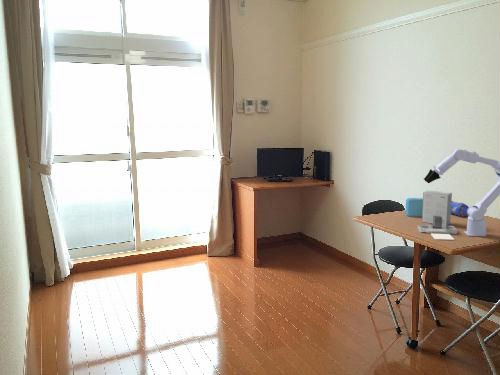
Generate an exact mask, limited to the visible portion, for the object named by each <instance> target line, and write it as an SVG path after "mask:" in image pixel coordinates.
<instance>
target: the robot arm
mask: <svg viewBox="0 0 500 375" xmlns="http://www.w3.org/2000/svg"><path fill="white" fill-rule="evenodd" d="M459 161H463V162H467V163H471V164H476V163H481V164H484V165H489V166H491V168H493V169H494V172H495V174H496V175H497V178H498V179H497V180H498V181H497V182H496V183H494V185H493V186H492V187H491V188H490V189H489V191H488V192H486V194H485V195H484V196H483V197H482V198H481V199H480V200H479V201H478V202H476V203H474V204H473V205H472V206H470V207H469V206H468V207H469V208H468V210H467V216H468V217H467V223H466V231H465V230H464V231H463V232H464V233H465V235H467V236H469V237H487V221H486V219H483V218H484V217H485V214H487V211H488V208H489V207H490V206H491V205H492V204H493V202H495V201H496V199H497V198H498V197H499V196H500V160H497V159H493V158H488V157H482V156H480V155H479V153H478V152H476V151H469V150H467V149H460V148H455V149H453V150H452V151H451V153H450V155H448V156H446V157H445V158H444V159H442V161H440V162H439V163H438V164H437V165H432V167H433V169H431V168H430V169H429V170H428V171H429V172H428V173H427V174H426V176H425V177H423V180H424V181H425V182H426V183H427V184H430V183H432V182H434V181H436V180H439V179H442V178H441V176H443V175H444V174H445V173H446V172H448V170H450V169H451V168H452V167H453V166H455V165H456V164H457V163H458V162H459Z"/></svg>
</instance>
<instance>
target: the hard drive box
mask: <svg viewBox="0 0 500 375" xmlns="http://www.w3.org/2000/svg"><path fill="white" fill-rule="evenodd" d="M452 197H453V192H448V191H447V192H446V191H438V190H425V191H423V193H422V198H423V208H422V216H421V222H422V223H425V222H426V223H427V224H432V225H433V216H441V217H442V226H449V225H450V224H451V215H452V214H451V201H453V200H452Z"/></svg>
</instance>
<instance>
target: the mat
mask: <svg viewBox="0 0 500 375" xmlns="http://www.w3.org/2000/svg"><path fill="white" fill-rule="evenodd" d="M430 235H431V237H433V239H434V240H436V241H437V240H438V241H455V238H454V237H453V236H452V234H448V233H430Z"/></svg>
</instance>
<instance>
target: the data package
mask: <svg viewBox="0 0 500 375" xmlns="http://www.w3.org/2000/svg"><path fill="white" fill-rule="evenodd" d="M422 208H423V197H408V198H406V199H405V215H406V216H407V217H410V218H411V217H417V218H418V217H422Z"/></svg>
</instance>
